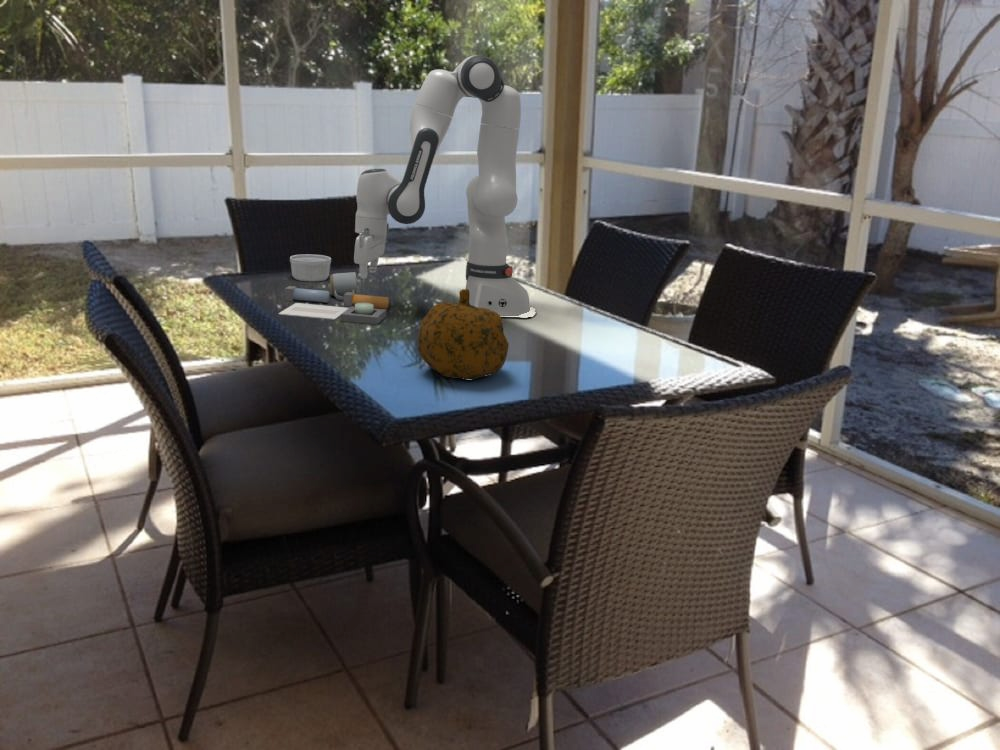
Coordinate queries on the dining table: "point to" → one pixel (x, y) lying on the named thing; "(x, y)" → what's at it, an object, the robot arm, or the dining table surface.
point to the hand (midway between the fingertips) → (368, 275)
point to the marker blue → (306, 295)
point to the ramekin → (310, 267)
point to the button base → (363, 316)
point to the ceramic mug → (343, 284)
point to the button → (364, 308)
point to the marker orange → (365, 300)
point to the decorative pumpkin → (462, 339)
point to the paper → (314, 311)
